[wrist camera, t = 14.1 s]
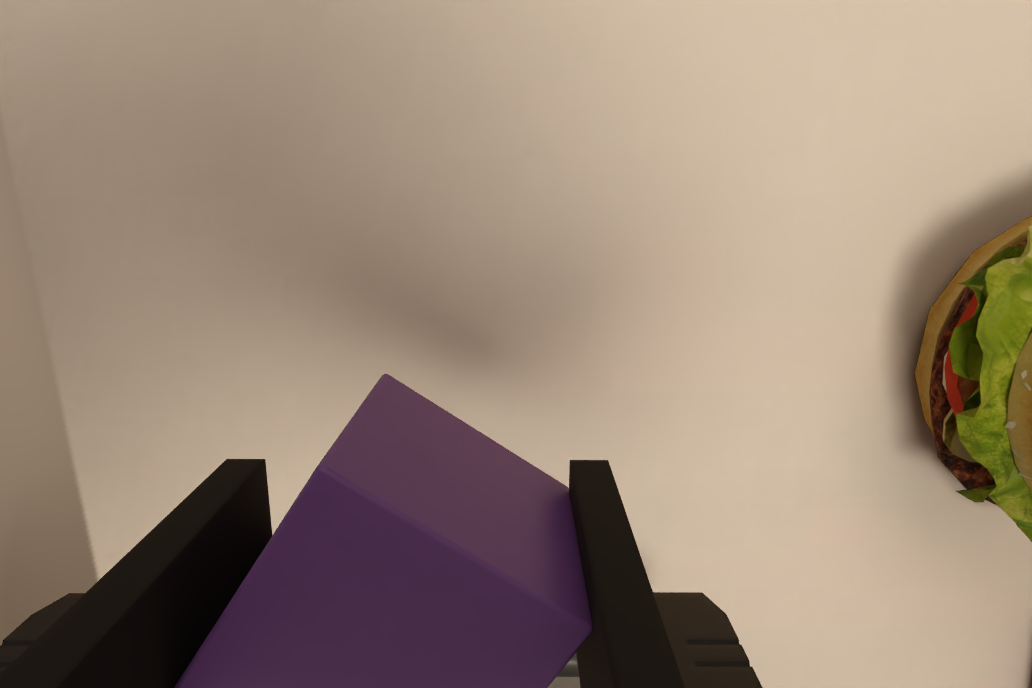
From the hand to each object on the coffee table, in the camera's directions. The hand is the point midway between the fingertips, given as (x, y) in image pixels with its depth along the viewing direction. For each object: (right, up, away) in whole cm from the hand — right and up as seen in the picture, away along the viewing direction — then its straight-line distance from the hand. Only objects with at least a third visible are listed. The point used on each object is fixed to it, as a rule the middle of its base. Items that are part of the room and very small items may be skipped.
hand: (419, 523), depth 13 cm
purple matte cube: (0, 0, 0) cm, 0 cm away
